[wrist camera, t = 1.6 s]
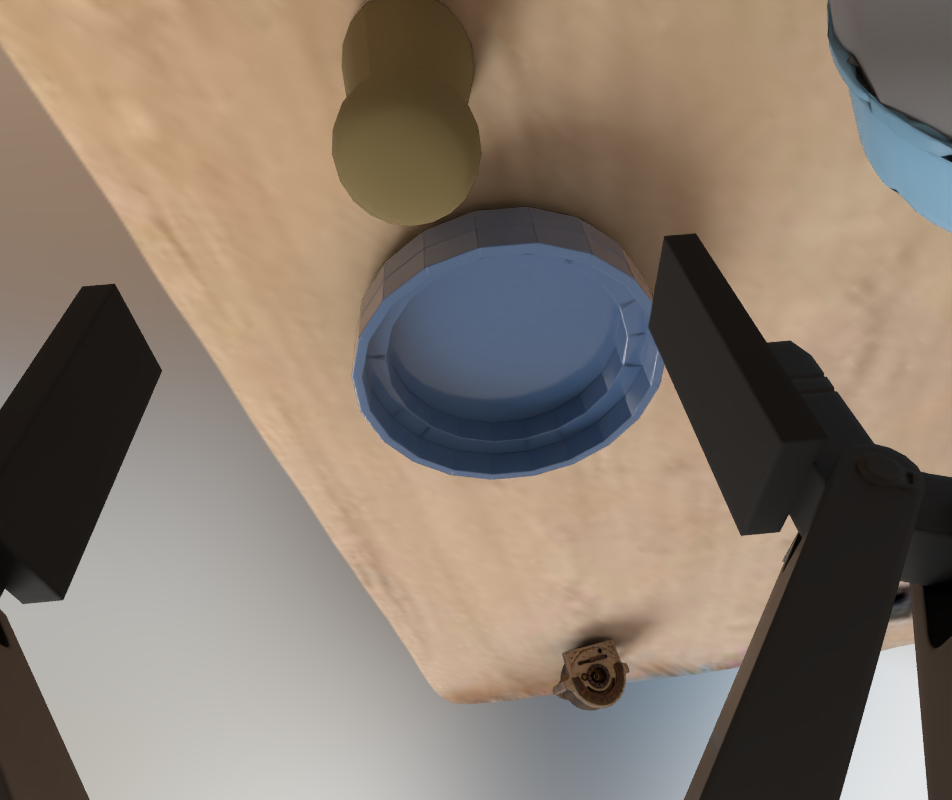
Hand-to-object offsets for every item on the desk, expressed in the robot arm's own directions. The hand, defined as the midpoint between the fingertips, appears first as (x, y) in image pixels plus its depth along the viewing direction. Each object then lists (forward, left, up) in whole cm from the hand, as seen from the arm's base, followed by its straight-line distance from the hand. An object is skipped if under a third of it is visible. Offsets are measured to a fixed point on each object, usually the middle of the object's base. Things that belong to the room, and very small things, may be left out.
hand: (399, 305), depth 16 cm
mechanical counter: (+67, +12, -19) cm, 71 cm away
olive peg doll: (0, 0, -19) cm, 19 cm away
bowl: (+16, +4, -18) cm, 25 cm away
